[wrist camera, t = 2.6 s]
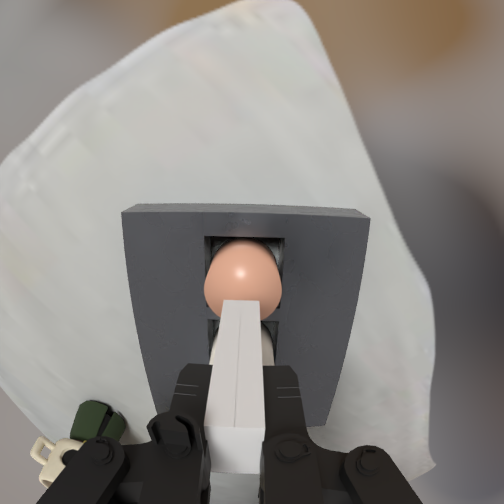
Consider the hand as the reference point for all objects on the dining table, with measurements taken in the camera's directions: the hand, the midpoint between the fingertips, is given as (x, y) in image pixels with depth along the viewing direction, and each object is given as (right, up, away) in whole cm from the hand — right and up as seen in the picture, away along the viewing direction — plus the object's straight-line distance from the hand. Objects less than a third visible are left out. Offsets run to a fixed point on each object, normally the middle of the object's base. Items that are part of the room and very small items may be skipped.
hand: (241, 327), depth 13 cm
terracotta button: (0, +2, +7) cm, 8 cm away
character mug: (-18, -16, +16) cm, 29 cm away
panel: (0, -3, +11) cm, 11 cm away
